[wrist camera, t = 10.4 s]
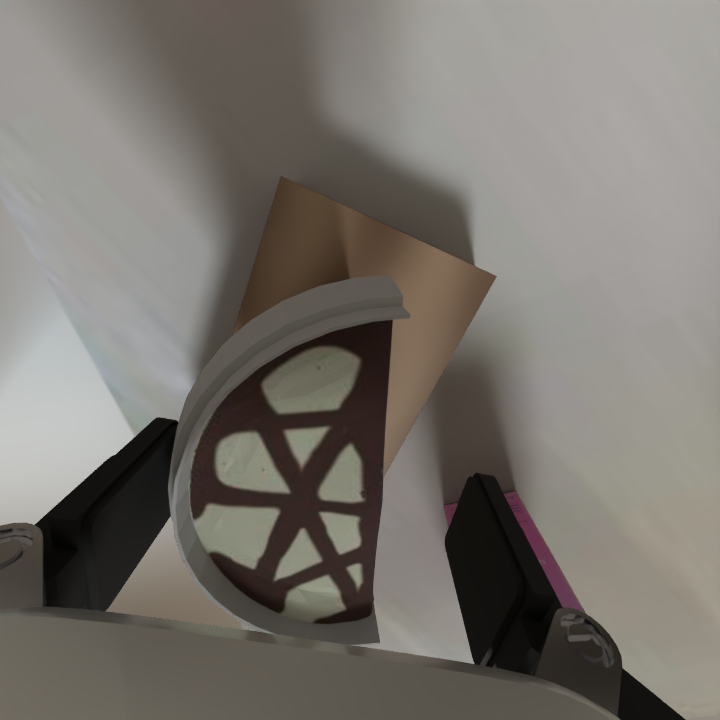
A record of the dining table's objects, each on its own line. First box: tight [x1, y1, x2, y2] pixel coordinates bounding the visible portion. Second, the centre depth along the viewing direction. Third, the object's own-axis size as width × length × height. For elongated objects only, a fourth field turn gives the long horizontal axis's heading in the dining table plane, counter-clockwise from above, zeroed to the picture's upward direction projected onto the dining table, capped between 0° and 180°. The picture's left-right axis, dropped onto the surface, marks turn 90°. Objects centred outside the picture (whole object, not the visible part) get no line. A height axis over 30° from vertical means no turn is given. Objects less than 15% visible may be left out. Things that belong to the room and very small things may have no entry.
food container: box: [168, 275, 410, 646], centre depth 14 cm, size 12×6×10 cm, turn 178°
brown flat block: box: [232, 176, 497, 478], centre depth 21 cm, size 11×16×4 cm
